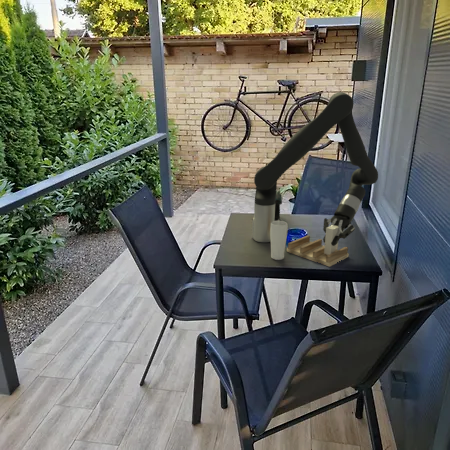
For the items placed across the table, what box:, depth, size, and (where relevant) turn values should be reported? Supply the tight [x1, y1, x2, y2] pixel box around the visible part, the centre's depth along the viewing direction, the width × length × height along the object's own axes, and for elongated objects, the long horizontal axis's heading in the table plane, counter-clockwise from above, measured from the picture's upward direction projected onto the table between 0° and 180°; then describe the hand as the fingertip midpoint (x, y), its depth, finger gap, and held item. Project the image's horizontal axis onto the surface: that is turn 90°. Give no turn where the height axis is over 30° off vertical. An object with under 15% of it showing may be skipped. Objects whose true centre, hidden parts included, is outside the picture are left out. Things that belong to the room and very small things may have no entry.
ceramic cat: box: [274, 189, 283, 221], centre depth 204 cm, size 20×6×20 cm, turn 179°
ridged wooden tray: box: [286, 234, 349, 267], centre depth 164 cm, size 21×14×4 cm, turn 44°
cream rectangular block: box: [324, 225, 339, 255], centre depth 157 cm, size 3×5×11 cm, turn 134°
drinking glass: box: [270, 220, 289, 261], centre depth 158 cm, size 7×7×15 cm
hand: (328, 243), depth 156 cm, fingers closed on cream rectangular block, 3 cm apart
